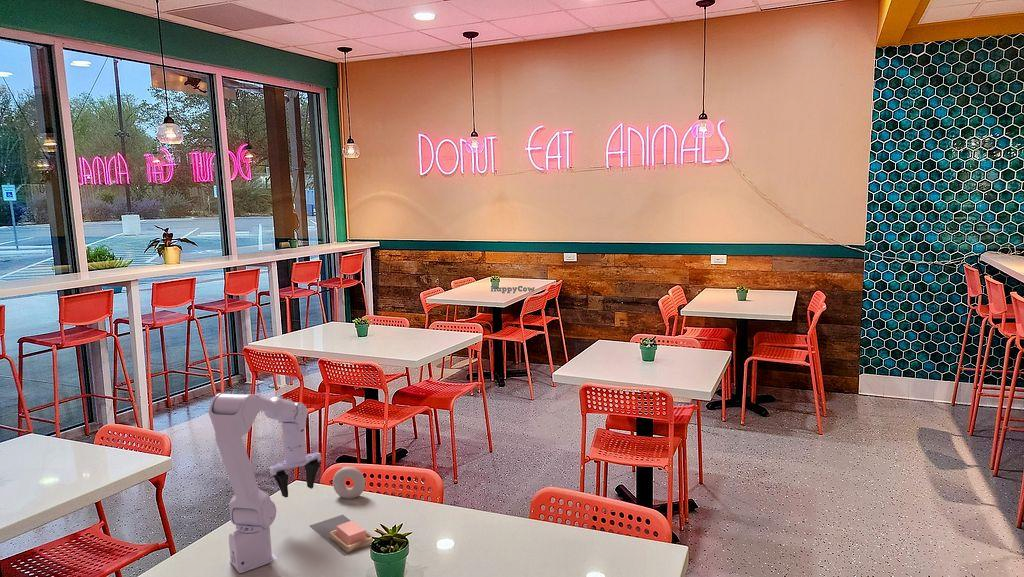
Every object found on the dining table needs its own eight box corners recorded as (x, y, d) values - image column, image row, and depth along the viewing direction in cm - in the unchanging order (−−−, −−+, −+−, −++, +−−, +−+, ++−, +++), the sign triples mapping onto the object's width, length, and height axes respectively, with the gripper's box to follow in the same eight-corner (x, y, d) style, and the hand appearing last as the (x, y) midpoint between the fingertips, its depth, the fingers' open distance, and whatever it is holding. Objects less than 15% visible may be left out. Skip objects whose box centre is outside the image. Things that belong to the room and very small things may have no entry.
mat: (344, 557, 169) (344, 555, 169) (309, 527, 186) (309, 525, 186) (379, 544, 175) (379, 542, 175) (342, 516, 192) (342, 514, 192)
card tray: (347, 553, 170) (346, 547, 170) (329, 538, 179) (328, 532, 178) (374, 542, 175) (374, 537, 175) (356, 528, 183) (355, 523, 183)
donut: (367, 496, 206) (365, 464, 205) (364, 501, 202) (362, 469, 201) (336, 496, 207) (334, 464, 206) (332, 500, 203) (329, 469, 202)
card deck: (337, 536, 178) (336, 525, 178) (353, 531, 181) (352, 520, 181) (349, 547, 173) (349, 536, 172) (366, 541, 175) (365, 530, 175)
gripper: (276, 455, 178) (280, 504, 180) (325, 440, 188) (328, 487, 190) (264, 449, 183) (268, 497, 184) (312, 435, 193) (315, 480, 195)
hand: (297, 491), depth 188 cm, fingers open, 7 cm apart
